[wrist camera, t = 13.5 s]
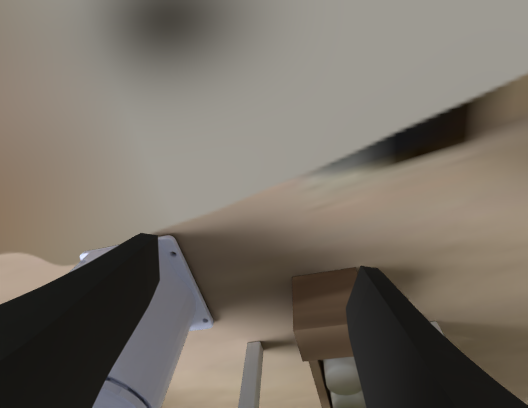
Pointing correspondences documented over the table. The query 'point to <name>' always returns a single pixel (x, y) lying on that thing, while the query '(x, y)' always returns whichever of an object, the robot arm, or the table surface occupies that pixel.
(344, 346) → the wooden slotted rack
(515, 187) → the table surface
